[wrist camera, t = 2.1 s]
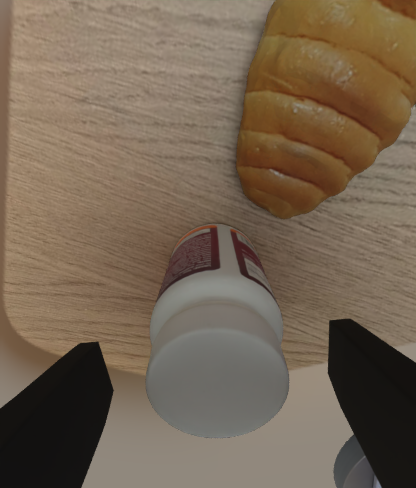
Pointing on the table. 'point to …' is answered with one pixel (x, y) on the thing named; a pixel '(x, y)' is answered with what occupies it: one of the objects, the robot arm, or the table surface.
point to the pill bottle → (216, 338)
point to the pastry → (324, 98)
